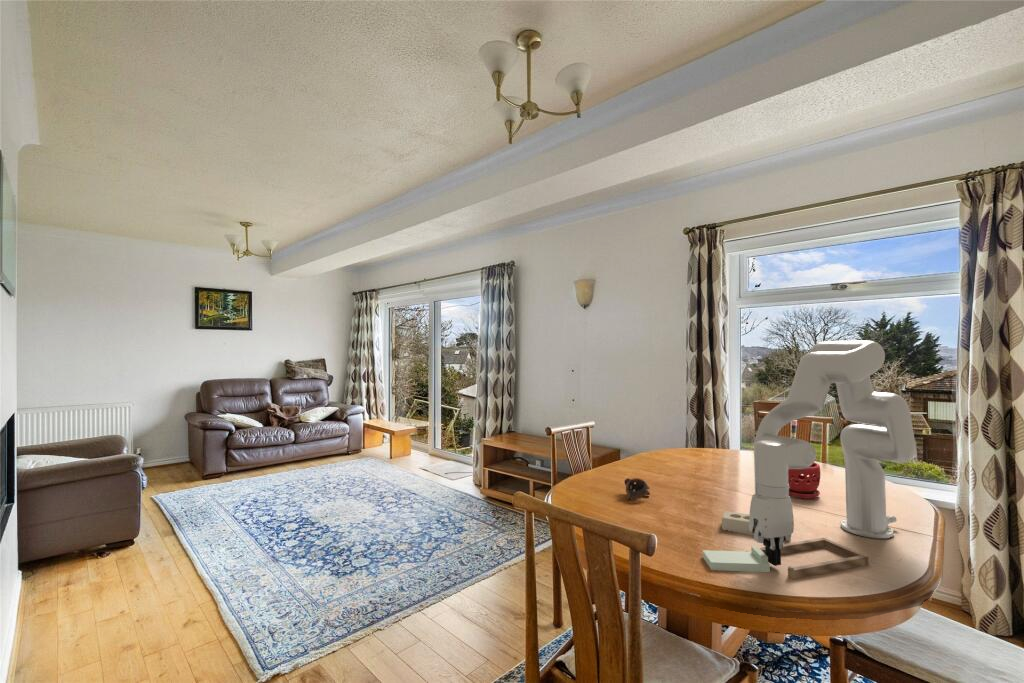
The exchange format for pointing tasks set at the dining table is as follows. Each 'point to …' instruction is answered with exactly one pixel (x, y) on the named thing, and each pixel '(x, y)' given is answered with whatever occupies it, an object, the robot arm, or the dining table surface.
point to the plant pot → (804, 482)
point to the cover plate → (737, 560)
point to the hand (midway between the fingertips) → (773, 563)
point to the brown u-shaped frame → (823, 567)
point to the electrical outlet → (737, 523)
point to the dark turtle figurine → (636, 488)
